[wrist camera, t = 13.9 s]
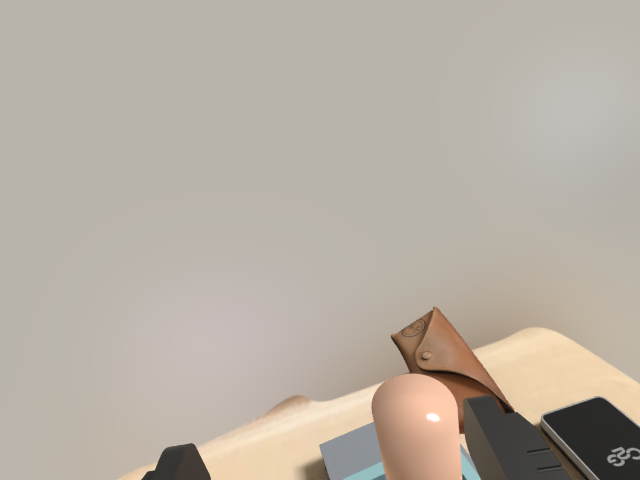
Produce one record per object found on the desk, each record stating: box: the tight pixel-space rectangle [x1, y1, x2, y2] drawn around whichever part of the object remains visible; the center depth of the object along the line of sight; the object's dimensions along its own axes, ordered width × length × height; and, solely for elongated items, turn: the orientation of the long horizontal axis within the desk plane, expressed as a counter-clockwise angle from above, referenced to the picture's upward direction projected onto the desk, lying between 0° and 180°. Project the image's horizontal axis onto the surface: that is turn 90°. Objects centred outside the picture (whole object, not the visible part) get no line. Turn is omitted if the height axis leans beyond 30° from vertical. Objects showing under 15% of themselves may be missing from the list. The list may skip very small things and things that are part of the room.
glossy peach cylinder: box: [372, 374, 462, 480], centre depth 23 cm, size 5×5×13 cm
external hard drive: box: [541, 396, 640, 480], centre depth 29 cm, size 7×11×2 cm, turn 10°
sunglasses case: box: [391, 307, 515, 434], centre depth 43 cm, size 18×7×7 cm
